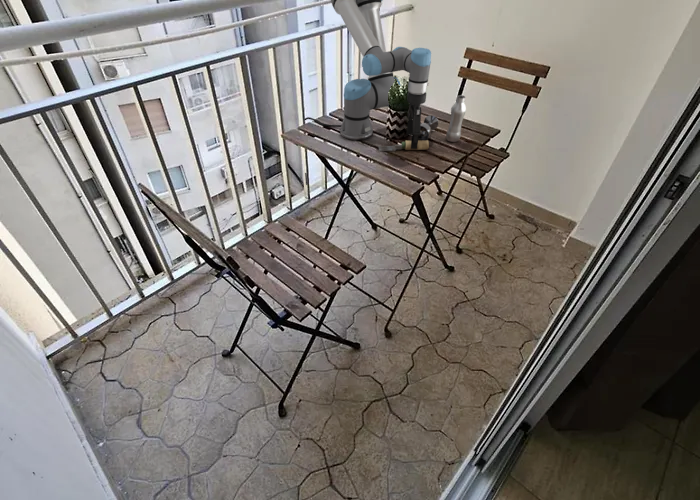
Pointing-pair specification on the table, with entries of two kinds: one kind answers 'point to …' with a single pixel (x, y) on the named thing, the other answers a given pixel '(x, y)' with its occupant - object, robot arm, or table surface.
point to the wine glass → (427, 127)
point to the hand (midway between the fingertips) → (411, 141)
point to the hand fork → (406, 146)
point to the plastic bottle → (456, 119)
